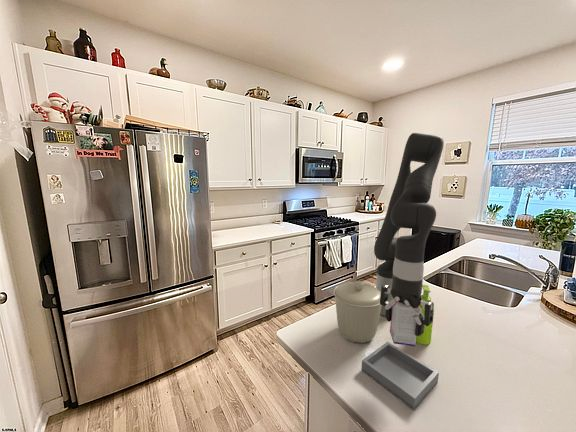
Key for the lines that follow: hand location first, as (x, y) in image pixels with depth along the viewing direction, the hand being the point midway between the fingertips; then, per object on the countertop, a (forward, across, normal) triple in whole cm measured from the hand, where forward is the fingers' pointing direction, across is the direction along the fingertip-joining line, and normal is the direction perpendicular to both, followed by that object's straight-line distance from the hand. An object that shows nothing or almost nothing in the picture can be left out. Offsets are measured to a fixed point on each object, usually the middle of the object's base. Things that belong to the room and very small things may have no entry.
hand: (403, 327), depth 69 cm
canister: (+16, +20, -6) cm, 27 cm away
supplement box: (+4, 0, 0) cm, 4 cm away
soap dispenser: (+16, +4, -23) cm, 28 cm away
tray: (+16, 0, 0) cm, 16 cm away
